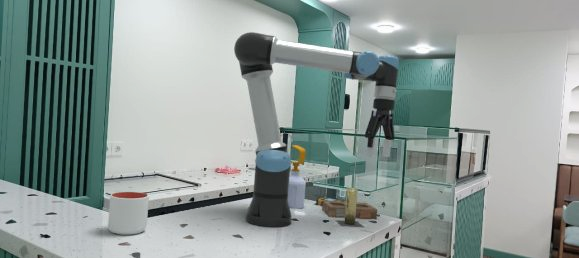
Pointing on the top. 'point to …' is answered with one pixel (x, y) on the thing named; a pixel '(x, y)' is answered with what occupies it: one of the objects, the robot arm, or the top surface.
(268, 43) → the robot arm
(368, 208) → the socket block
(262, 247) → the top surface
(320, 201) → the electronic device
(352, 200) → the yellow tall cylinder
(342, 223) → the mat
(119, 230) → the cup
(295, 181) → the soap bottle
